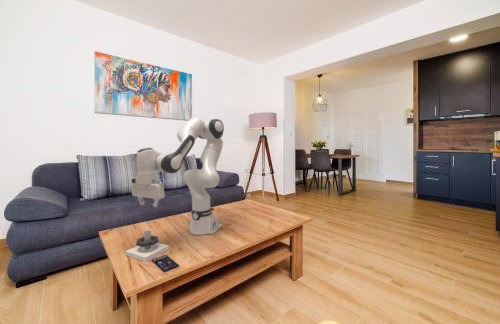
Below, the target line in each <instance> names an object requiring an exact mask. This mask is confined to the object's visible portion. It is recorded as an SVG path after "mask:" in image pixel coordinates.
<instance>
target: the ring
mask: <svg viewBox="0 0 500 324" xmlns="http://www.w3.org/2000/svg"><path fill="white" fill-rule="evenodd" d="M135 243H136V246H140V247H146V246H152V245H154V244H156V243H159V237H158V236H155V235H151V241H148V242H144V236H142V237H140V238H137V239H136V242H135Z"/></svg>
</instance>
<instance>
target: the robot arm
mask: <svg viewBox="0 0 500 324" xmlns="http://www.w3.org/2000/svg"><path fill="white" fill-rule="evenodd" d="M224 131H225V125H224V122H223V121H222V120H221V119H218V118H212V119H210V120H206V121H203V120H202V118H200V117H197V116H194V117H192V118H190V119H188V120H187V121H186V122H185V123H184V124H183V125H182V126H181V127H180V128H179V130H178V131H177V133H176V134H177V135H176V136H177V139H178V141H179V142H180V144H179V145H178V146H177V147H176V149H175V151H174V152H171V153H162V152H159V151H157V150H155V149H154V148H153V147H146V148H141V149H139V150H137V152H136V168H137V172H136V176H135V177H132V178H130V183H131V185H130V186H131V187H130V188H131V189H130V190H131V195H132V196H133V197H137V200H138V202H139V205H141V206H144V205H145V201H144V199H145V198H146V199H152V200H153V201H154V202H153V203H152V207H153V208H157V207H158V205H159V204H158V203H159V201H160V200H161V199H164V198H165V196H166V193H165V187H164V183H163V182H162V181H161V180H157V172H163V173H167V174H171V175H172V174H176V173H178V172H179V170H180V169H181V167H182V165H183V162H184V160H185V158H186V157H187V156H188V155H189V152H190V151H191V149H193V147H194V145H195V142H196V140H197V139H198V138H199V139H201V140H206V144H205V145H204V149H203V150H202V152H201V155H200V158H199V160H200V162H201V164H202V166H201V167H202V168H201V169H199V168H192V169H188V170H186V171H185V172H184V174H183V182H184V183H185V184H186V186H187V187H188V189H189V191H190V194H191V204H192V205H191V207H192V208H191V216H190V225H189V229H188V230H189V233H190V234H192V235H197V236H204V235H210V234H212V235H213V234H215V233H216V232H217V231H218V230H219V229H221V227H223V224H222V223H221V222H219V218H218V216H217V215H215V214H213V212H214V211H215V208H214V207H211V195H210V193H208V192H207V190H206V189H212V188H213V189H214V188H216V187H217V186H219V183H220V179H221V178H220V175H219V173H218V172H217V171H218V170H217V165H218V164H217V163H218V161H219V159H220V156H221V153H222V149H223V146H224V145H223V144H224V141H223V139H222V137H223V134H224Z"/></svg>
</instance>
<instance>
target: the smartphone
mask: <svg viewBox="0 0 500 324" xmlns="http://www.w3.org/2000/svg"><path fill="white" fill-rule="evenodd" d="M150 261H151V263H153V264H154V266H155V267H156V268H157V269H159V270H160V271H161V272H162V274H163V273H164V274H166V273H168V272H171V271H173V270H176V269H179V268H180V266H181V265H180V264H179V263H177V262H176V261H175V260H174V259H172V258H171V257H170V256H169V255H167V254H164V255H160V256H158V257H157V256H156V257H154V258H152V259H150Z"/></svg>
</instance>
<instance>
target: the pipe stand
mask: <svg viewBox="0 0 500 324" xmlns="http://www.w3.org/2000/svg"><path fill="white" fill-rule="evenodd" d="M143 232H144V233H143V237H144V242H148V241H151V236H152V234H151V233H152V231H151V230H144V231H143ZM168 250H170V246H169V245H168V244H164V243H160V242H158V243H156V244H154V245H152V246H146V247H140V246H137V245H136V246H134V247H132V248H130V249H128V250H127V249H126V250H125V253H124V254H125V256H127V257H129V258H134V259H136V260H139V261H141V262H144V263H145V262H148V261H151V260H152V259H154V258H157V256H159V255H162V254H163V253H165V252H167V251H168Z"/></svg>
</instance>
